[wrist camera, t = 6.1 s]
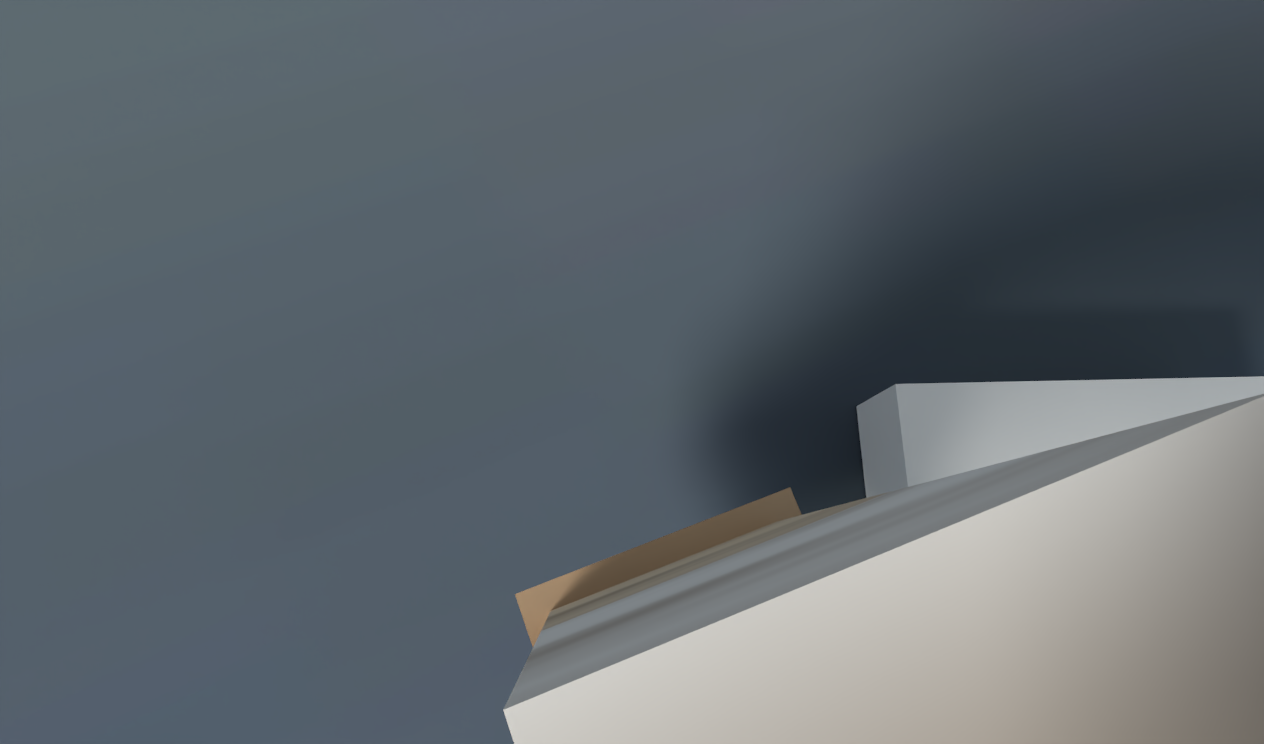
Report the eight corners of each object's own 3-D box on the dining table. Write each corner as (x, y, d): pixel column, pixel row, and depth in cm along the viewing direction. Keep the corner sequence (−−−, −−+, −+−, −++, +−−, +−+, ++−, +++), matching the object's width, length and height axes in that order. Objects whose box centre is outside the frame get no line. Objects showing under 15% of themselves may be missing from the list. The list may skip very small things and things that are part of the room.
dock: (1333, 1065, 21) (1456, 1143, 18) (932, 1106, 20) (994, 1196, 17) (1192, 398, 25) (1272, 376, 22) (856, 406, 24) (895, 383, 22)
